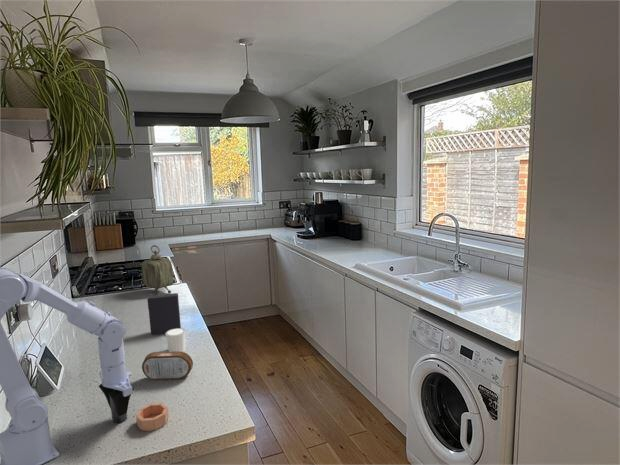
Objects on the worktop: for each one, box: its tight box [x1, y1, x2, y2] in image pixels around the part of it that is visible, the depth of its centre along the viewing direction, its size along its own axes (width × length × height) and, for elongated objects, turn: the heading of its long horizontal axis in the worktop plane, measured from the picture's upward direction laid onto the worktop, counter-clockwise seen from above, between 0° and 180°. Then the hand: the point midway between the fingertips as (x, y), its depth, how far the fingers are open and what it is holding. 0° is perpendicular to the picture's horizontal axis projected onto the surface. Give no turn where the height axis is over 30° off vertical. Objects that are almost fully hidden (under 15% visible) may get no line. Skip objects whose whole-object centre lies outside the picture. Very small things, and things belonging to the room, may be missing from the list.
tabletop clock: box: [140, 244, 174, 295], centre depth 207 cm, size 14×9×25 cm, turn 53°
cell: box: [109, 390, 128, 425], centre depth 106 cm, size 4×4×8 cm
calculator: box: [147, 292, 182, 336], centre depth 160 cm, size 11×4×15 cm, turn 104°
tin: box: [141, 351, 194, 381], centre depth 126 cm, size 15×3×8 cm, turn 92°
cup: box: [135, 402, 170, 432], centre depth 105 cm, size 7×7×3 cm
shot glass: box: [164, 327, 187, 352], centre depth 144 cm, size 7×7×7 cm
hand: (118, 410), depth 106 cm, fingers open, 4 cm apart
